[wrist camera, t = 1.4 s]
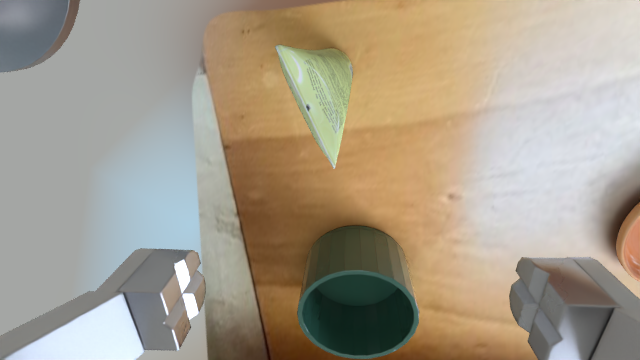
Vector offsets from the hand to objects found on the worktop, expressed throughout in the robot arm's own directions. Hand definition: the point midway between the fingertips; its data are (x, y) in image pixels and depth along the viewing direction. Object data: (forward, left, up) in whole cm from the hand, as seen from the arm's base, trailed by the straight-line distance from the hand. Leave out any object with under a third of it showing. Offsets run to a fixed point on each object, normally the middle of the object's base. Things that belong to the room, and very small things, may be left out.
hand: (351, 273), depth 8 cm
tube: (-2, +1, -31) cm, 31 cm away
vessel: (+6, -25, -31) cm, 40 cm away
